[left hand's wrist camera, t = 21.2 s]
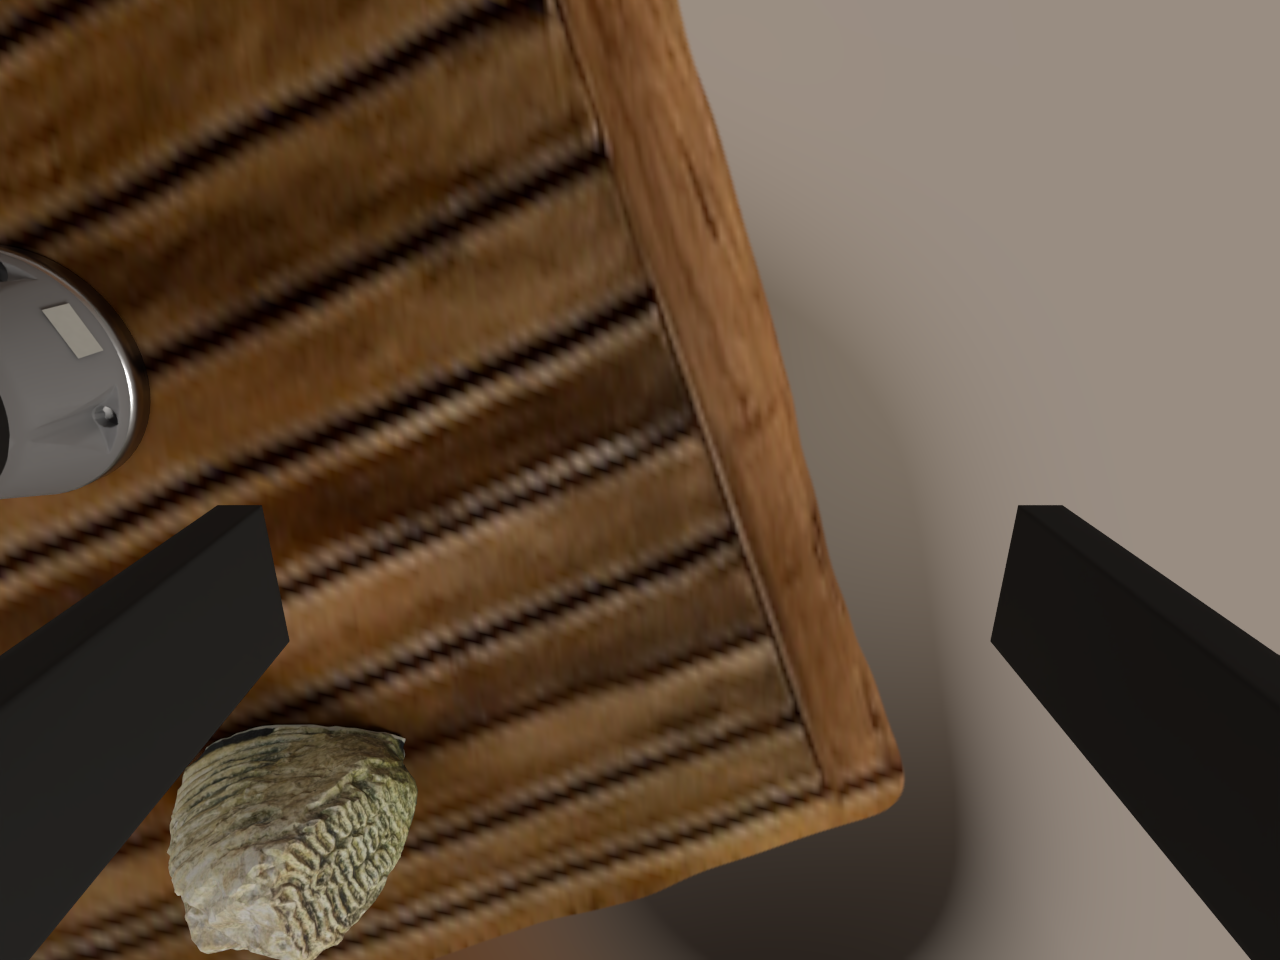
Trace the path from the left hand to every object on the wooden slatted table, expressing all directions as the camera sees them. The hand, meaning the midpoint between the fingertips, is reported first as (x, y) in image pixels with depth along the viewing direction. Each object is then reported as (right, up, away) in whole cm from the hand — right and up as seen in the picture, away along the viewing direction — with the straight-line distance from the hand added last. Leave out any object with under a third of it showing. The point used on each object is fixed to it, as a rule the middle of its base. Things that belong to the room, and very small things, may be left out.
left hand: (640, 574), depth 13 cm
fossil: (-25, -20, +43) cm, 54 cm away
